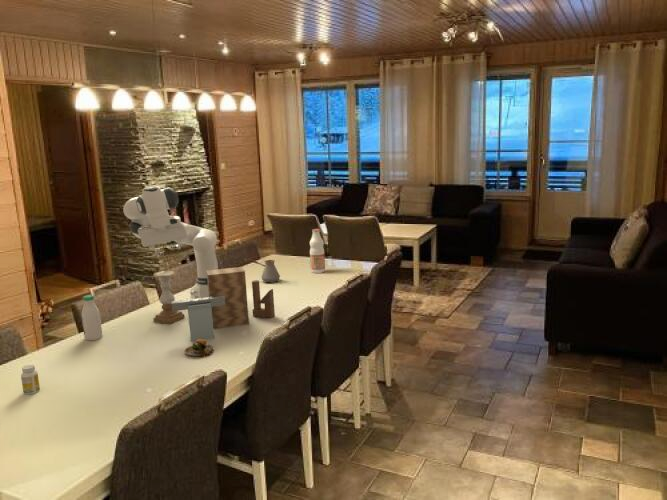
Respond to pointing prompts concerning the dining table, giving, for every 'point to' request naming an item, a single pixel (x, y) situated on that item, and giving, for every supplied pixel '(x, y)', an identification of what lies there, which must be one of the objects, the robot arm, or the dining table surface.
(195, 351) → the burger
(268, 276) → the coffee pot
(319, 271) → the fruit juice
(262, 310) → the wooden block
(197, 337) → the block
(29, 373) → the supplement bottle
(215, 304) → the bar
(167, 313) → the candle holder
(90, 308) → the milk bottle
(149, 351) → the dining table surface
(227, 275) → the brown tall rectangular box
